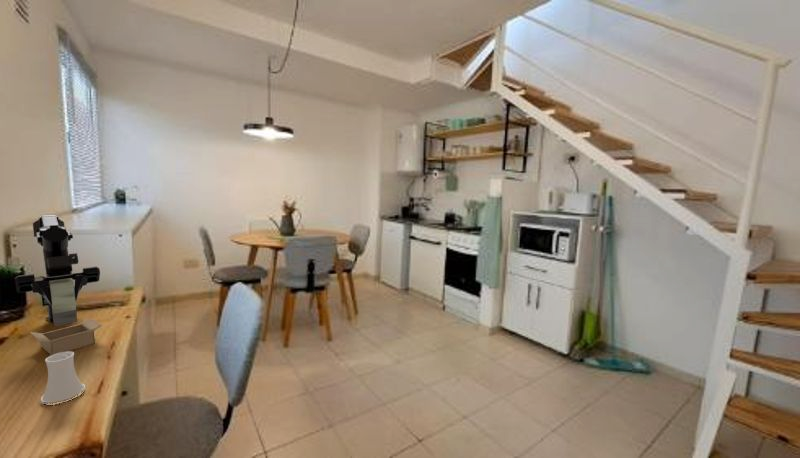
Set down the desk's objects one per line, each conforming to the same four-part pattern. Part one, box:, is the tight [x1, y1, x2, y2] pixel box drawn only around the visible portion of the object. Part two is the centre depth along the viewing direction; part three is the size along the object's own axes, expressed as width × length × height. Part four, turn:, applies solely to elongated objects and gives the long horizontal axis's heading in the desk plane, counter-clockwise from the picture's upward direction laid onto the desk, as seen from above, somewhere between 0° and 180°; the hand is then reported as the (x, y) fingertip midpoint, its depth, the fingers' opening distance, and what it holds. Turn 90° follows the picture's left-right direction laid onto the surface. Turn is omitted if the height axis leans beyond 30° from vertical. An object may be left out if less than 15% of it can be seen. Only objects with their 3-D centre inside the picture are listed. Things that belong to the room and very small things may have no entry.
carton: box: [29, 317, 102, 356], centre depth 105 cm, size 12×14×5 cm
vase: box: [40, 351, 86, 405], centre depth 81 cm, size 8×8×10 cm
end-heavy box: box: [49, 278, 78, 327], centre depth 106 cm, size 5×5×13 cm
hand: (63, 302), depth 105 cm, fingers closed on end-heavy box, 5 cm apart
